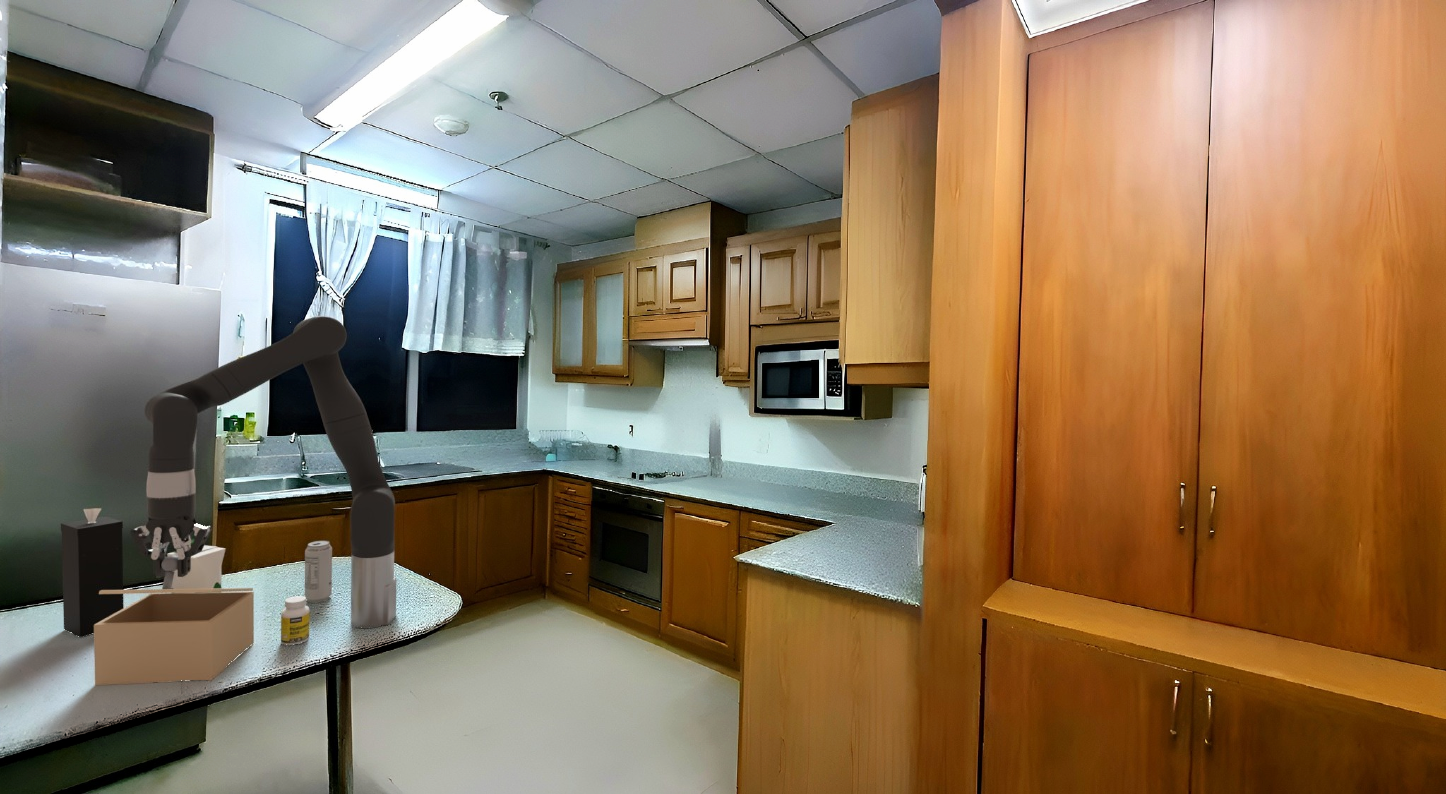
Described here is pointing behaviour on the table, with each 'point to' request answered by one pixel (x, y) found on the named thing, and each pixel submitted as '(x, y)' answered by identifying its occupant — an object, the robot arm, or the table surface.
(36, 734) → the table surface
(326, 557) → the energy drink can
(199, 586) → the milk carton
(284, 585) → the table surface
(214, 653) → the carton
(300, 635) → the supplement bottle
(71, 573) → the tall black box
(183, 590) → the flap
